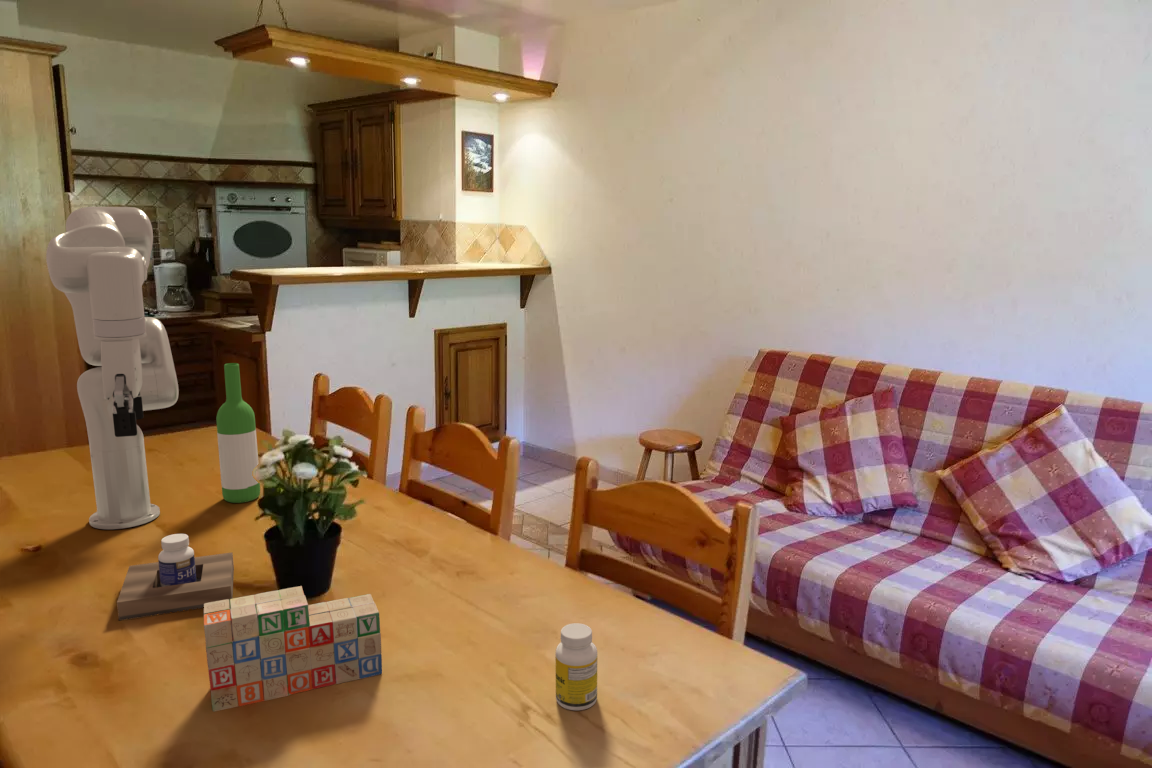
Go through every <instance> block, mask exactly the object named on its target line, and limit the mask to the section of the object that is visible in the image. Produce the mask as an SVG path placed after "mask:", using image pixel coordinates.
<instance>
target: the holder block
mask: <svg viewBox="0 0 1152 768" xmlns="http://www.w3.org/2000/svg"><path fill="white" fill-rule="evenodd" d="M194 558H195V570H196V582H192V583H185V584H178V585H171V586H164V587H161V582H160V572H159V561H157V562H149V563H142V564H140V563H139V564H135V565H134V564H133V565H129V566H128V569H127V571H126V575H125V578H124V580H123V581H124V582H123V583H122V587H121V589H120V592H119V596H118V597H117V601H116V606H117V607H116V608H117V616H118V621H125V620H132V619H139V618H145V617H151V615H152V616H158V615H157V614H159V615H165V614H171V613H170V612H172V613H177V611H179V612H184V611H183V610H185V611H190V610H189V609H192V610H196V609H197V608H198V609H204V608H203V607H204V604H205V603H209V602H215V601H220V600H226V599H229V600H230V599H233V596H234V595H233V594H234V593H233V591H234V571H235V569H234V567H235V565H234V554H233V552H225V553H219V554H218V553H217V554H208V555H202V556H194ZM164 613H165V614H164Z"/></svg>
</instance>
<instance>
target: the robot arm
mask: <svg viewBox="0 0 1152 768" xmlns="http://www.w3.org/2000/svg"><path fill="white" fill-rule="evenodd" d="M153 232H154V231H153V225H152V223H151V220H150V218H149V216H148V215H147V214H146V213H145V212H144V211H143V210H142V209H140V208H138V207H134V206H131V207H130V206H85V207H80V208H77V209H75V210H73V211H72V212H71V213H70V214H69V215H68V216H67V218H66V220H65V232H63V233H60V234H59V233H58V234H57V235H55V236H53V238H51V239H50V240H49V242H48V245H47V247H46V253H45V254H46V255H45V256H46V257H45V258H46V259H45V261H46V266H47V271H48V274H49V278H50V281H51V283H52V285H53V287H55V289H56V290H58V291H60V292H62V293H64V295H65V296H66V298H67V300H68V302H69V303H70V305H71V309H72V313H73V319H74V325H75V332H76V337H77V342H78V347H79V348H78V349H79V351H80V355H81V358H82V359H83V360H84V362H86V363H87V364H88V365H92V366H95V367H94V368H93V367H92V368H90V369H88V370H86V371H84V372H83V373H81V375H79V377H78V379H77V383H76V389H77V391H76V392H77V395H78V399H79V402H80V406H81V409H82V413H83V416H84V420H85V426H86V431H87V432H86V433H87V437H88V438H87V439H88V445H89V453H90V462H91V471H92V478H93V488H94V495H95V496H94V497H95V503H96V511H95V512H93V514H91V515H90V517H89V518H88V522H89V525H90V526H91V527H93V528H95V529H99V530H121V529H123V530H124V529H127V528H132V527H138V526H140V525H141V526H142V525H144V524H147V523H149V522H152V521H153V520H155V519H156V518H158V517H159V516H160V515H161V511H160V510H161V509H160V506H158V505H156V504H154V503H151V497H150V496H151V495H150V488H149V478H148V468H147V460H146V459H147V458H146V449H145V448H146V447H145V439H144V438H145V437H144V434H143V431H142V429H141V428H140V426H139V425H138V424H137V420H143V418H144V411H145V412H146V411H152V410H160V409H161V410H162V409H166V408H170V407H172V406H174V405H175V404H176V403H177V401H178V399H179V391H180V389H179V384H178V383H179V381H178V378H177V377H178V376H177V372H176V368H175V363H174V358H173V355H172V350H171V345H170V340H169V337H168V332H167V330H166V328H165V326H164V324H163V323H162V321H161V320H159V319H158V318H155V317H152V316H145V309H144V297H143V287H142V286H143V285H144V282H146V281H147V278H148V268H149V265H150V262H151V261H150V260H151V255H152V249H153V245H154V244H153V243H154V233H153Z"/></svg>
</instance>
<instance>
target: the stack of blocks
mask: <svg viewBox="0 0 1152 768" xmlns="http://www.w3.org/2000/svg"><path fill="white" fill-rule="evenodd" d="M372 596H373V595H372V593H367V594H362V595H358V596H351V597H344V598H340V599H334V600H329V601H322V602H318V603H313V604H309V603H308V600H307V597H306V595H305V593H304V590H303V586H302V585H300V586H293V587H287V588H282V589H279V590H278V589H277V590H271V591H266V592H260V593H259V592H258V593H256V594H251V595H243V596H240V597H232V599H230V600H229V599H226V600H220V601H215V602H209V603H205V604H204V608H203V627H204V637H205V639H204V640H205V652H206V660H207V661H206V664H207V670H208V679H209V687H210V688H209V689H210V698H211V699H210V700H211V706H212V707H211V708H212V712H218V711H222V710H223V711H224V710H226V709H232V708H237V707H242V706H243V707H244V706H247V705H252V704H255V703H261V702H265V701H269V700H270V701H271V700H275V699H279V698H282V697H288V696H290V695H295V694H298V693H304V692H307V691H311V690H316V689H320V688H324V687H329V686H333V685H338V684H343V683H347V682H351V681H352V682H353V681H357V680H360V679H361V680H362V679H365V678H369V677H374V676H380V675H382V674H383V665H382V663H383V659H382V652H383V651H382V633H381V621H380V611H379V610H378V607H377V604H376V602H375V601H374V599H373V597H372Z"/></svg>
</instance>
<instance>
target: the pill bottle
mask: <svg viewBox="0 0 1152 768" xmlns="http://www.w3.org/2000/svg"><path fill="white" fill-rule="evenodd" d="M160 540H161V541H160V543H161V544H160V545H161V549H162V550H161V551H160V552H159V554H158V557H157V558H158V561H157V562H159V572H160V582H161V587H164V586H171V585H178V584H185V583H192V582H196V570H195V558H194V557H195V550H194V549H193V548H192V547H190V546H189V545H190V539H189V535H188V534H186V533H174V534H173V533H172V534H169V535H166V536H164V537H163V538H162V539H160Z"/></svg>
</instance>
